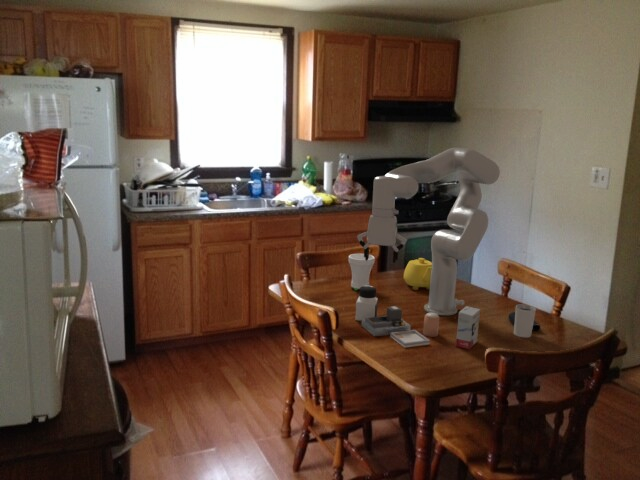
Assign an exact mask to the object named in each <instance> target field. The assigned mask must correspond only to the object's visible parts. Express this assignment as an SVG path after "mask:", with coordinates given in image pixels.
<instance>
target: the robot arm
mask: <svg viewBox="0 0 640 480" xmlns="http://www.w3.org/2000/svg"><path fill="white" fill-rule="evenodd" d="M456 172H457V176H458V179H459V183H460V184H459V185H460V191H459V193H458V196H457V197H456V200H455V202H454V203H453V206H452V207H451V209H450V210H449V213H448V215H447V218H446V223H447V225H448V226H449V227H450V228H451V229H454V230H456V231H459V232H462V233H459V232H456V231H452V230H449V229H439V230H437V231H435V233H433V235H432V237H431V240H430V249H431V262H432V270H431V282H430V290H429V293H428V294H429V295H428V302H427V303H425V304H424V306H423V309H424V310H425V312H427V313H436V314H438V316H454V315H455V314H457V313H458V308H457V307H458V306H464V305H465V304H466V303H465V300H464V299H458V298H455V295H456V294H455V293H456V287H457V286H456V284H457V273H458V263H457V261H461V262H462V261H463V262H466V261H469V260H470V259H472V257H473V256H474V255H475V253H476V251H477V249H478V248H479V246H480V243H481V242H482V240H483V239H484V236H485V234H486V232H487V230H488V227H489V216H488V214H487V213H486V211H484V210H483V209H479V206H480V204H481V201H482V198H483V196H482V195H483V193H482V189H481V186H480V184H483V185H492V184H494V183H496V182H497V181H498V180H499V177H500V172H501V171H500V167H499V165H498V163H496V162H495V161H493V160H492V159H490V158H488V157H487V156H486V155H484V154H482V153H480V152H479V151H477V150H474V149H471V148H464V147H451V148H448V149H446V150H444V151H442V152H440V153H437V154H436V155H434V156H432V157H430V158H428V159H426V160H425V159H424V160H420V161H417V162H413V163H409V164H405V165H401V166H399V167H397V168H394V169H392V170H390V171H389V172H387V173H386V174H385V175H379V176H376V177H374V179H373V184H372V185H373V186H372V187H373V190H372V206H371V207H372V208H371V211H372V212H371V214H370V216H369V220H368V224H367V225H368V226H367V231H364V232H362V233H360V234H357V236H356V239H357V240H358V242H359V245H360V246H361V247H362V248H363V254H364V257H365V260H368V259H369V255H370V248H369V247H370V246H371V245H374V246H381V247H382V246H383V247H384V246H385V247H391V248H392V249H393V253H392V255H393V256H392V263H393V264H395V263H396V262H397V261H398V260H399V251H400V250H401V249H403V248H404V246H405V244H406V243H407V241H408V239H407V238H406V237H404V236H402V234H401V235H400V234H399V233H398V220H397V219H398V218H397V216H396V215H399V209H396V208H395V206H396V205H395V204H396V203H395V201H396V198H401V199H402V198H403V199H404V198H405V199H407V198H412V197H414V196H415V195H416V194H417V192H418V191H419V184H429V183H430V184H431V183H437V182H438V181H440V180H443V179H444V178H446V177H448V176H450V175H451V174H453V173H456ZM364 237H366V242H365V241H364V239H363V238H364ZM398 240H399V241H401V243H399V245H398V244H397V242H398Z"/></svg>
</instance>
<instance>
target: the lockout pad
mask: <svg viewBox="0 0 640 480" xmlns="http://www.w3.org/2000/svg"><path fill="white" fill-rule="evenodd" d="M389 338H391V339H393V340H394V341H395V342H396V343H398V344H399V345H400V346H401V347H403V348H411V347H418V346H427V345H430V344H431V340H430V339H429V338H427V336H425V335H424V334H423V333H420V332H419V331H417V329H412V330H411V329H410V330H409V331H401V332H392V333H390V336H389Z"/></svg>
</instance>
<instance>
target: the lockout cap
mask: <svg viewBox="0 0 640 480" xmlns="http://www.w3.org/2000/svg"><path fill="white" fill-rule="evenodd" d="M439 325H440V315H438V314H436V313H429V312H427V313H426V314H424V319H423V330H422V331H423V332H422V335H423V336H425V337H429V338H433V337H435V338H437V336H438V335H439Z"/></svg>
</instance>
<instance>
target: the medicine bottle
mask: <svg viewBox="0 0 640 480" xmlns="http://www.w3.org/2000/svg"><path fill="white" fill-rule="evenodd" d="M358 293H359V295H358V298H357V299H356V302H355V321H358V322H362V319H365V318H369V317H378V303H379V298H378V297H377V289H376V287H375V286H372V285H369V286H362V287H360V289H359V292H358Z"/></svg>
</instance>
